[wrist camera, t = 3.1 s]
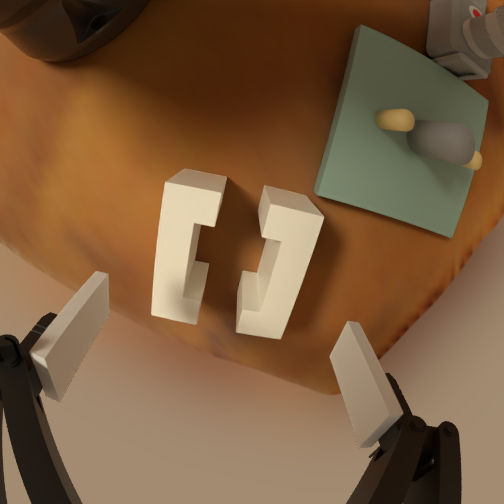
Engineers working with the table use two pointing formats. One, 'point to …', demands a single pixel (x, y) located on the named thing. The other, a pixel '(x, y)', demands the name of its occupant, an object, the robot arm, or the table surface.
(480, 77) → the camera
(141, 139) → the table surface
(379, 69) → the board
